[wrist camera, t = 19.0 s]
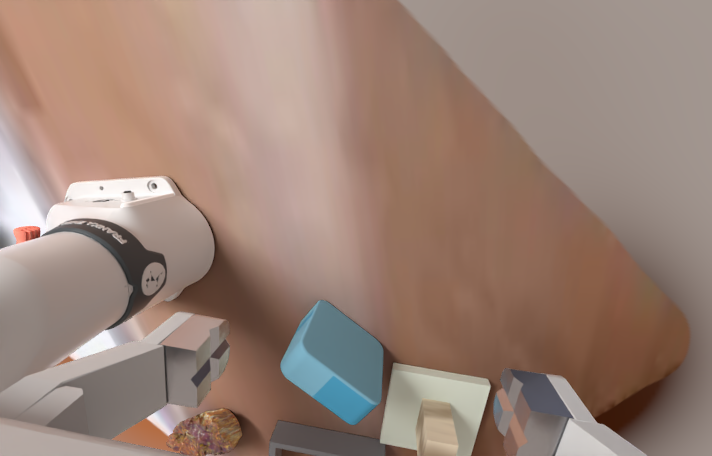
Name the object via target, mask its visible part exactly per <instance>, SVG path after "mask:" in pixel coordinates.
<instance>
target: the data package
mask: <svg viewBox="0 0 712 456" xmlns="http://www.w3.org/2000/svg"><path fill="white" fill-rule="evenodd" d="M280 366H281V371H282V373H283V375H284V376H285V377H286V378H287V379H288V380H289V381H291V382H292V383H294V384H295V385H296V386H298V387H299V388H300V389H302V390H303V391H304V392H306V393H307V394H309V395H310V396H311V397H313V398H314V399H315V400H317V401H318V402H319V403H321V404H322V405H324V406H325V407H326V408H328V409H329V410H330V411H332V412H333V413H334V414H336V415H337V416H338V417H340V418H341V419H343V420H344V421H345V422H347V423H348V424H351V425H356V424H357V423H359V422H360V421H361V420H362V419H363V418H364V417H365V416H366V415H367V414H368V413H370V412H371V411H372V410H373V409H374V408H375V407H376V406H377V405H378V404H379V403H380V402H381V397H382V375H383V348H382V346H381V344H380V343H379V341H378V340H377V339H375V338H374V337H373V336H371V335H370V334H369V333H368V332H366V331H365V330H364V329H362V328H361V327H360V326H358V325H357V324H356V323H355V322H353V321H352V320H351V319H349V318H348V317H347V316H345V315H344V314H343V313H342V312H340V311H339V310H338V309H336V308H335V307H334V306H333V305H331V304H330V303H328V302H327V301H324V300H320V301H318V302H317V303H316V305H315V306H314V307H313V308H312V309H311V310H310V311H309V313H308V314H307V315H306V316H305V317H304V318H303V319H302V321H301V322H300V324H299V326H298V328H297V330H296V332H295V335H294V337H293V339H292V341H291V343H290V345H289V347H288V349H287V351H286V353H285V355H284V357H283V359H282V361H281V365H280Z"/></svg>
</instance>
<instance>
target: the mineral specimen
mask: <svg viewBox="0 0 712 456" xmlns="http://www.w3.org/2000/svg"><path fill="white" fill-rule="evenodd" d="M173 432H174V433H172V434H171V435H169V438H168V440H167V443H166V444H167V446H168V447H170V448H172V449H173V450H174V451H180V453H181V454H185V455H190V456H205V455H207V454H213V455H217V454H220V455H221V454H224V453H225V452H227V453H228V452H230V450H232V449H233V448H235V447H236V445H237V444H238V441H239V439H240V438H241V437H242V432H241V428H240V425H239V422H238V421H237V419H236V417H235V415H234V414H233V413H231V411H230V410H228V409H224V408H222V409H218V410H214V411H206V412H204V413H202V414H199V415H197V416H194V417H192V418H189V419H186V420H185V421H182V422H180V423H179V424H178V425H177V426H176V427H175V429H174V430H173Z"/></svg>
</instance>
